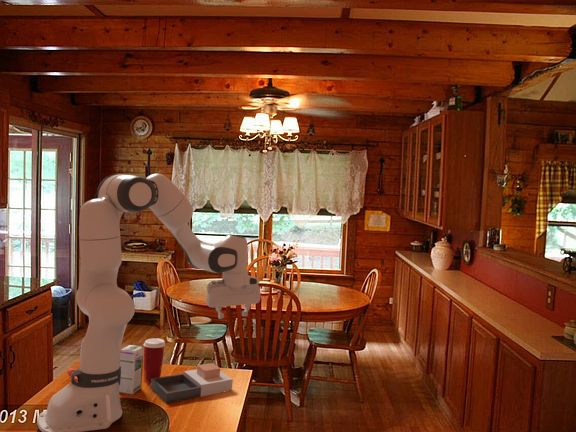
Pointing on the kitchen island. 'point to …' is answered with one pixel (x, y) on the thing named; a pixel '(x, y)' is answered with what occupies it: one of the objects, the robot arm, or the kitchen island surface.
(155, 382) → the tray
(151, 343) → the paper cup
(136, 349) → the syrup box
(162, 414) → the kitchen island surface
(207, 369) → the tile
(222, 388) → the flat white box
